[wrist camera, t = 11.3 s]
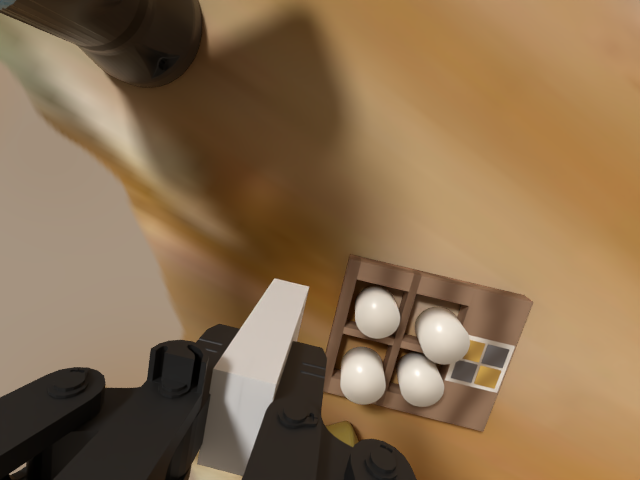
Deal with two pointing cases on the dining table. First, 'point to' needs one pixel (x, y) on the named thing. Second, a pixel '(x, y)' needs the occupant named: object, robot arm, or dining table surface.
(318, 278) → the dining table surface
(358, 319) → the white egg
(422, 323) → the white egg
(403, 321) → the egg tray
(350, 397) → the white egg
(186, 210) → the dining table surface
